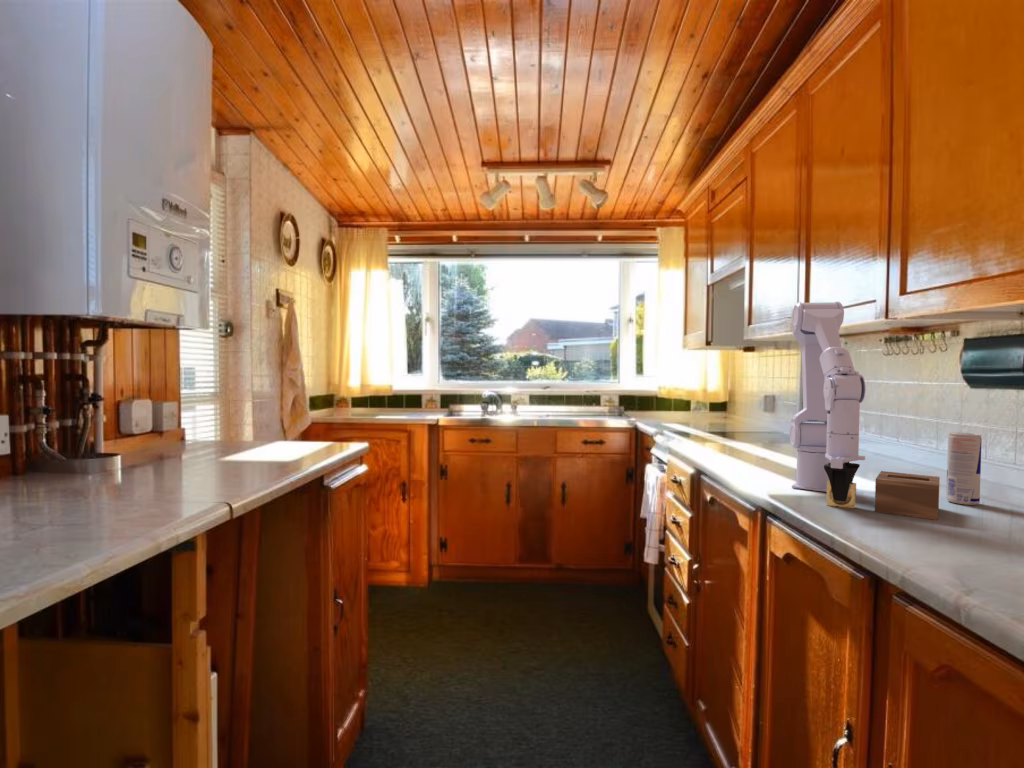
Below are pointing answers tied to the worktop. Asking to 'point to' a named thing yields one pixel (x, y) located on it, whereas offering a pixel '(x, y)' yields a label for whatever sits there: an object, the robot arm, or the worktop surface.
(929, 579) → the worktop surface
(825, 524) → the worktop surface
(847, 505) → the tan square block
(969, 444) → the white cylindrical canister
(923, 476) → the money box
